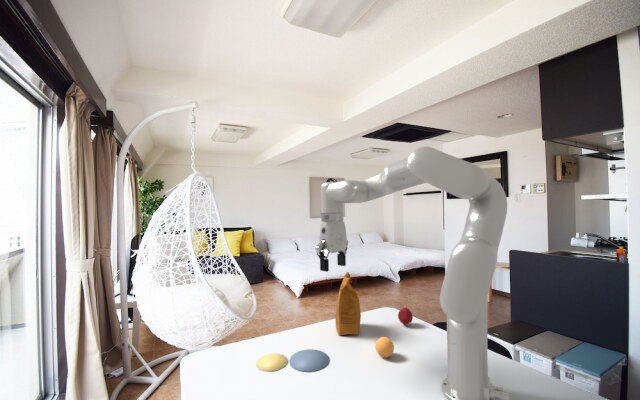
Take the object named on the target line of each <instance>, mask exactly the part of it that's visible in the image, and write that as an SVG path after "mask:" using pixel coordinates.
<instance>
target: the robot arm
mask: <svg viewBox="0 0 640 400" xmlns="http://www.w3.org/2000/svg"><path fill="white" fill-rule="evenodd" d="M423 184H429V185H431V186H433V187H435V188H437V189H439V190H441V191H444V192H446V193H448V194H450V195H452V196H455V197H457V198H460V199H464V200H468V202H469V208H468V213H467V216H466V219H465V224H464V228H463V231H462V235H461V238H460V240H459V241H458V242H457V244H455V246H453V248H452V250H451V253H450V255H449V259H448V263H447V266H446V270H445V274H444V277H443V280H442V281H443V282H442V285H441V289H440V293H439V294H440V295H439V305H440V307H441V310H442V312H443V313H444V315H445V316H446V351H447V352H446V353H447V354H446V356H447V359H446V361H447V364H446V365H447V377H445V379H443V380H442V382H441V392H442V393H443V395H444V396H445V398H446V399H448V400H497V399H498V400H510V393H509V392H505V391H504V387H501V386H498V385H494V384H493V383H490V381H491V380H490V379H491V378H490V377H489V371H488V370H489V368H488V367H489V366H488V365H489V364H488V361H489V359H488V355H489V354H488V295H489V291H490V288H491V284H492V282H493V277H494V275H495V270H496V266H497V262H498V254H499V253H498V251H499V246H500V243H501V238H502V237H503V233H504V226H505V223H506V219H507V213H508V198H507V195H506V192H505V191H504V190H505V189H504V188H503V186H502V185H501V184H500V182H499V181H498V180H497V179H496V178H495V177H493V175H491V174H490V173H489V172H487V171H486V170H485V169H484V168H482V167H480V166H479V165H478V164H475V163H473V162H470V161H466V160H464V159H462V158H459V157H456V156H453V155H451V154H448V153H446V152H444V151H441V150H439V149H437V148H434V147H431V146H419V147H418V148H416V149H414V150H413V151H412V152H411V153H410V154H409V156H408V157H407V158H403V159H401V160H398V161H395V162H393V163H390V164H387V165H385V167H384V168H383V170H382V172H381V173H378V174H377V175H375V176H373V177H369V178H367V179H363V180H354V179H353V180H352V179H345V180H341V181H327V182H323V183H321V185H320V202H321V203H320V208H321V213H320V215H321V222H320V223H321V224H320V229H319V230H320V231H319V243H317V245H316V246H315V251H316V255H317V257H318V259H319V269H320V272H321V271H322V272H329V271H330V267H329V266H330V264H329V263H330V261H329V259H328V257H329V255H330V254H335V253H337V256H336V257H337V263H336V264H337V266H339V267H340V266H341V267H346V265H347V262H346V261H347V259H346V257H347V256H346V255H347V250H348V246H349V240H348V239H347V230H346V224H345V221H344V204H362V203H367V202H370V201H373V200H377V199H379V198H383V197H386V196H389V195H392V194H395V193H397V192H400V191H403V190H406V189H407V190H408V189H409V188H412V187H415V186H416V187H417V186H419V185H423Z"/></svg>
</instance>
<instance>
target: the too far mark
mask: <svg viewBox="0 0 640 400" xmlns="http://www.w3.org/2000/svg"><path fill="white" fill-rule="evenodd" d="M288 362H289V360H288V357H287V356H285V355H284V354H281V353H269V354H265V355H263V356H261V357H259V358H258V359H257V361H256V368H257V369H258V370H260V371H263V372H276V371H280V370H281V369H283V368H285V367H286V366H287V365H288Z"/></svg>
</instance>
